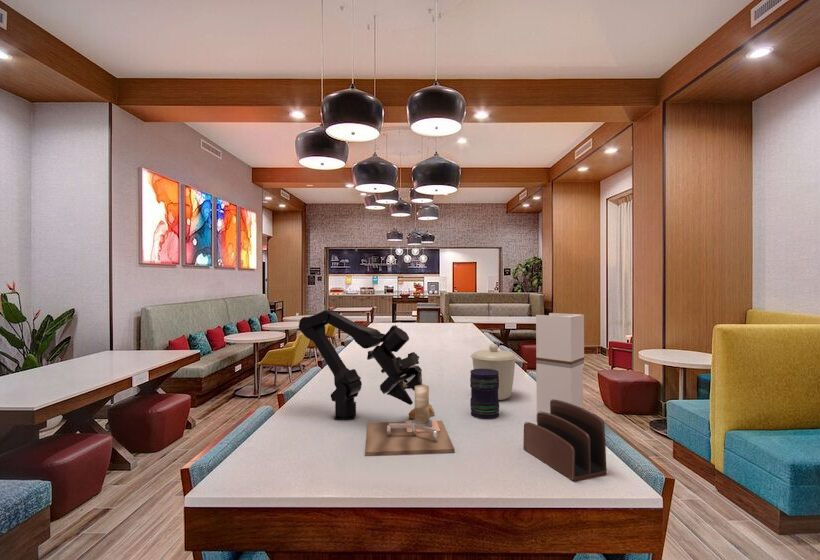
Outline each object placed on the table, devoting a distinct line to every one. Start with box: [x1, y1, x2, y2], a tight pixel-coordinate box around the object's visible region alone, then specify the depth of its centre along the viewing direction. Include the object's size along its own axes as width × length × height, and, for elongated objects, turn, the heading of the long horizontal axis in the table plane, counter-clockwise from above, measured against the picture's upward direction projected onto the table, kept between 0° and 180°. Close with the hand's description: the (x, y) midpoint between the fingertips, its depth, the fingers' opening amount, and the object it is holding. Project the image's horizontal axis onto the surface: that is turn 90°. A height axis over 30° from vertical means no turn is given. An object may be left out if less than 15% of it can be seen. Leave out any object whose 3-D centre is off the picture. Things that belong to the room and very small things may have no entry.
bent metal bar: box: [387, 423, 437, 443], centre depth 121 cm, size 15×4×4 cm, turn 71°
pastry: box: [408, 403, 436, 420], centre depth 143 cm, size 9×7×4 cm
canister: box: [470, 343, 518, 401], centre depth 166 cm, size 18×18×21 cm
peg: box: [412, 384, 433, 427], centre depth 130 cm, size 6×6×12 cm
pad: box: [404, 419, 440, 433], centre depth 130 cm, size 10×10×1 cm
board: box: [364, 420, 455, 457], centre depth 123 cm, size 24×23×1 cm
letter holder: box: [522, 399, 608, 482], centre depth 107 cm, size 10×20×14 cm, turn 19°
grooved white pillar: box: [535, 312, 585, 414], centre depth 136 cm, size 11×11×35 cm
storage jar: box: [469, 368, 500, 420], centre depth 144 cm, size 10×10×15 cm
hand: (418, 400), depth 130 cm, fingers open, 9 cm apart
